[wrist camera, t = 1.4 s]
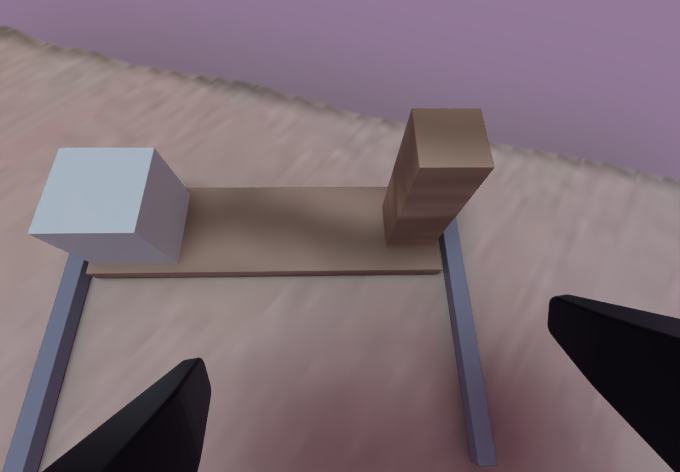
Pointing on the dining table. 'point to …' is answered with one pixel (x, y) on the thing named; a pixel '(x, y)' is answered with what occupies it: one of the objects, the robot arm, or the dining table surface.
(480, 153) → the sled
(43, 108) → the dining table surface
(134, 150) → the light blue-gray cube
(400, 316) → the dining table surface
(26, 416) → the lane rails
